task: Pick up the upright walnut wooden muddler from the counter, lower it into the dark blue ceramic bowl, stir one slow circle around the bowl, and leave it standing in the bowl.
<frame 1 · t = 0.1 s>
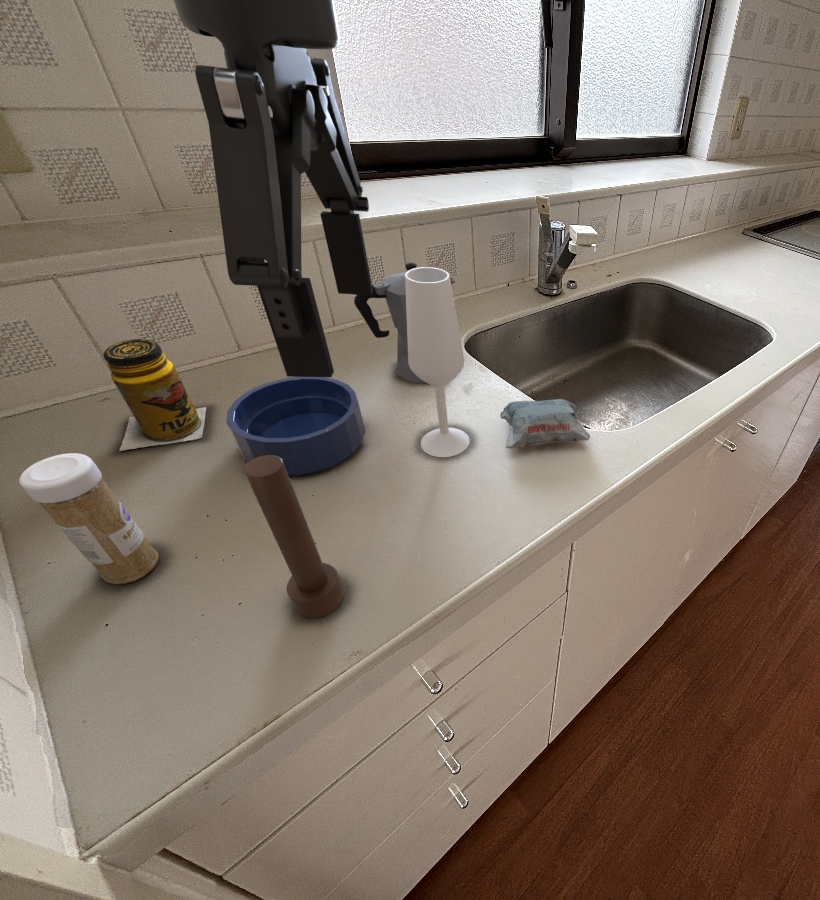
hand: (336, 328, 38), 27 cm above the counter, tool pointing down, fingers open, 13 cm apart
sprinkles bottle: (132, 568, 50), on the counter
muddler: (320, 599, 50), on the counter
packaged food: (543, 438, 74), on the counter
champagne flute: (445, 442, 70), on the counter
coffeepot: (418, 372, 84), on the counter
bowl: (307, 442, 67), on the counter
condiment: (166, 430, 66), on the counter
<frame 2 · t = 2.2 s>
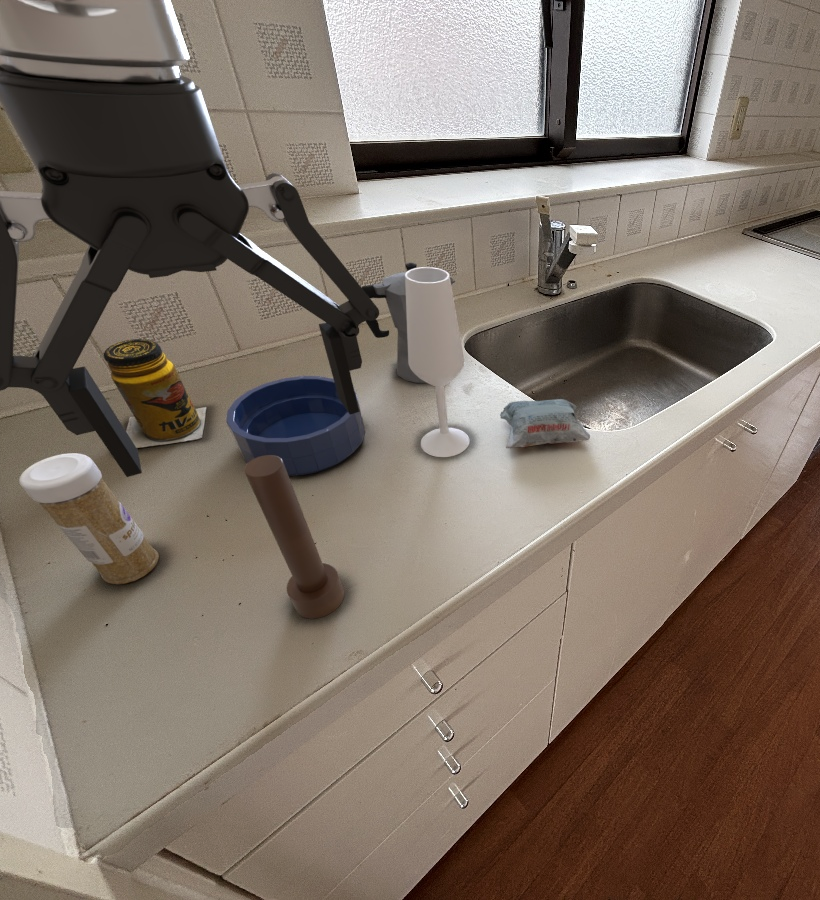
hand: (251, 431, 36), 21 cm above the counter, tool pointing down, fingers open, 13 cm apart
nothing on the counter moved.
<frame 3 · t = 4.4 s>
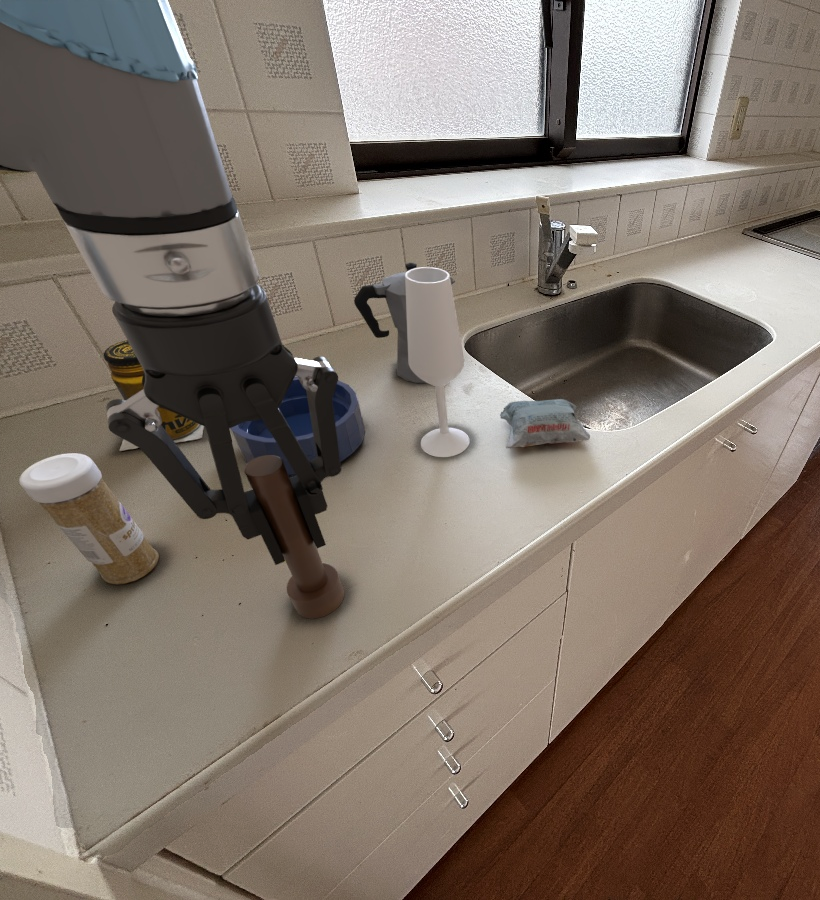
hand: (297, 544, 44), 9 cm above the counter, tool pointing down, fingers closed on muddler, 3 cm apart
muddler: (320, 599, 50), on the counter, touching gripper
everything else where it was.
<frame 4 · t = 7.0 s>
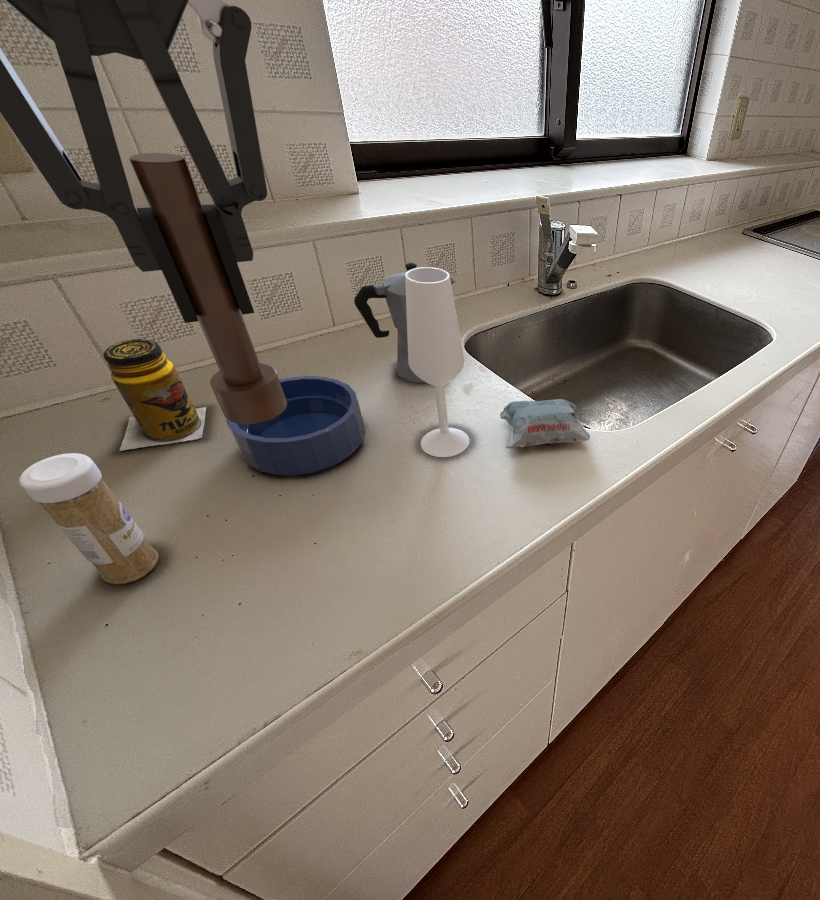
hand: (217, 309, 35), 28 cm above the counter, tool pointing down, fingers closed on muddler, 3 cm apart
muddler: (256, 408, 40), point 20 cm above the counter, touching gripper
everything else where it was.
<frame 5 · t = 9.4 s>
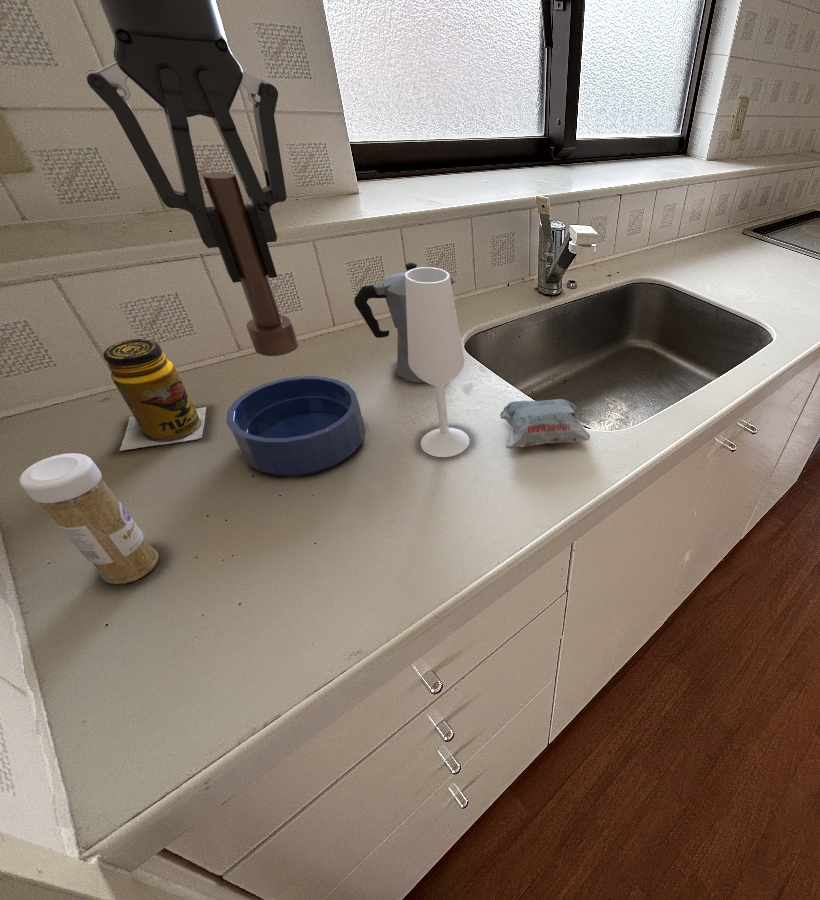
hand: (252, 274, 53), 23 cm above the counter, tool pointing down, fingers closed on muddler, 3 cm apart
muddler: (277, 346, 58), point 14 cm above the counter, touching gripper
everything else where it was.
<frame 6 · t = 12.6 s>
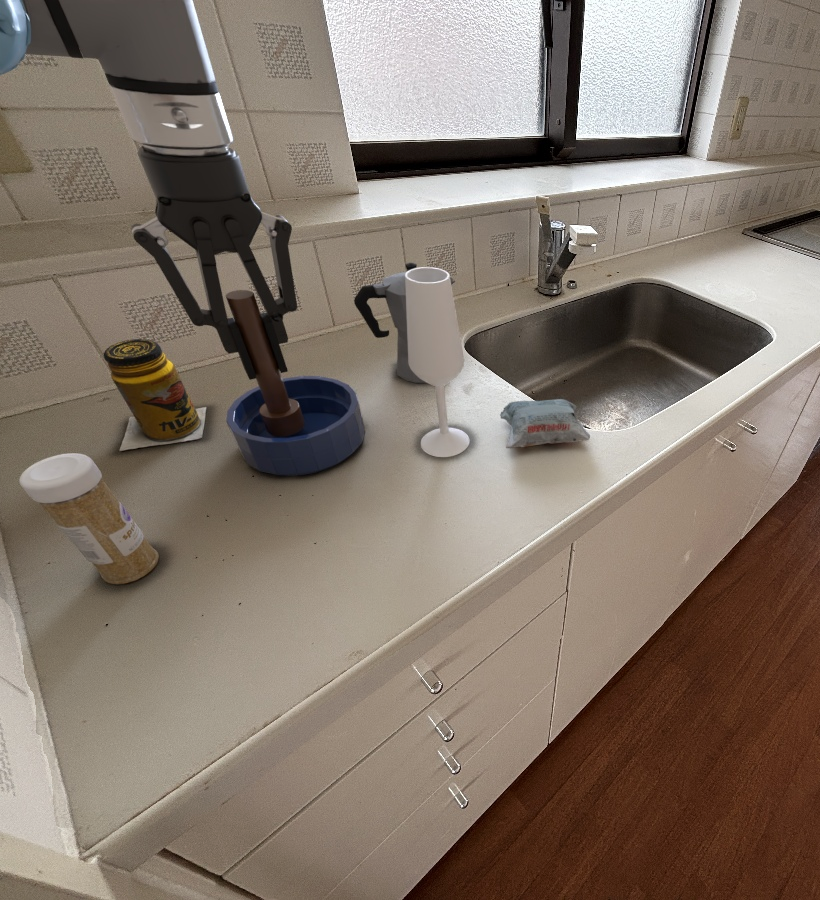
hand: (266, 370, 60), 11 cm above the counter, tool pointing down, fingers closed on muddler, 3 cm apart
muddler: (286, 426, 65), point 3 cm above the counter, touching gripper
everything else where it was.
when the fingers open (9 cm above the counter, at t = 14.7 s): muddler stays where it is, resting on bowl.
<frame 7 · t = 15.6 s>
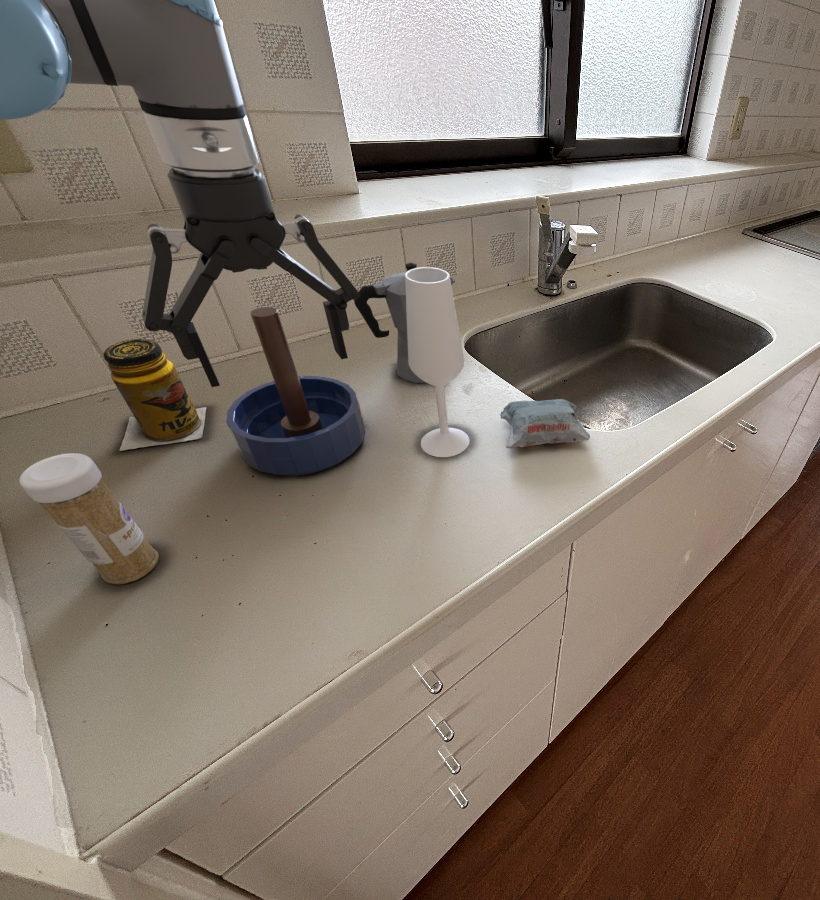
hand: (281, 366, 60), 12 cm above the counter, tool pointing down, fingers open, 13 cm apart
muddler: (306, 437, 66), point 1 cm above the counter, touching bowl
everything else where it was.
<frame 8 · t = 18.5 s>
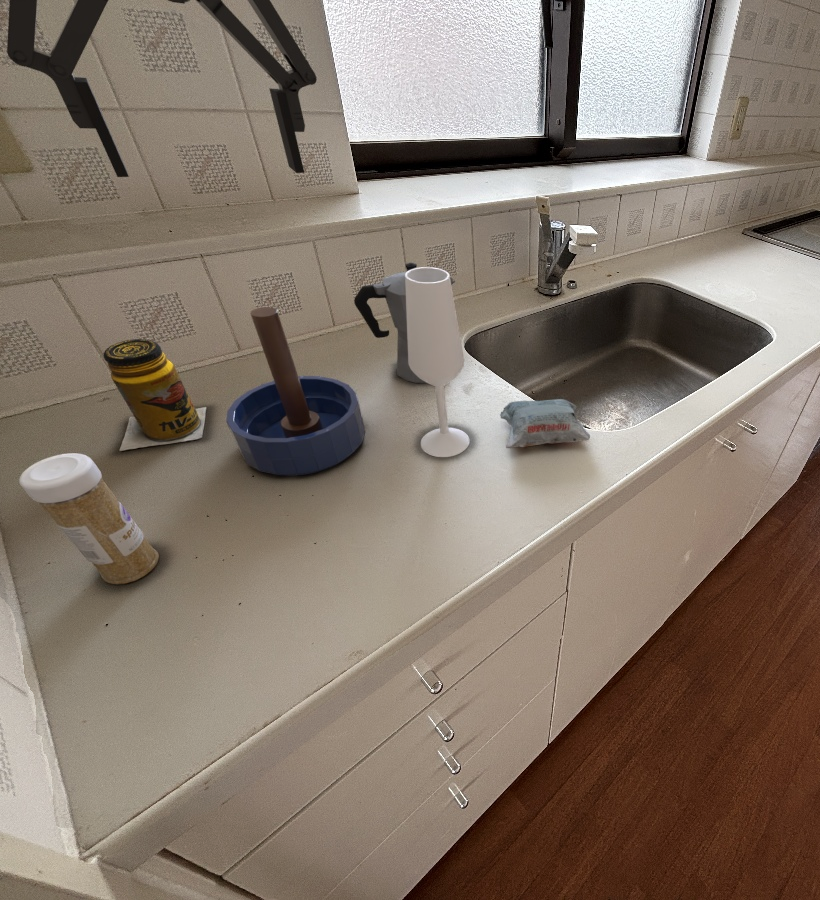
hand: (216, 171, 46), 33 cm above the counter, tool pointing down, fingers open, 13 cm apart
nothing on the counter moved.
at the end: muddler inside the target area in the bowl (0.1 cm from its centre), point 0.8 cm above the bowl's base; muddler tilted 0°; the gripper is holding nothing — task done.
